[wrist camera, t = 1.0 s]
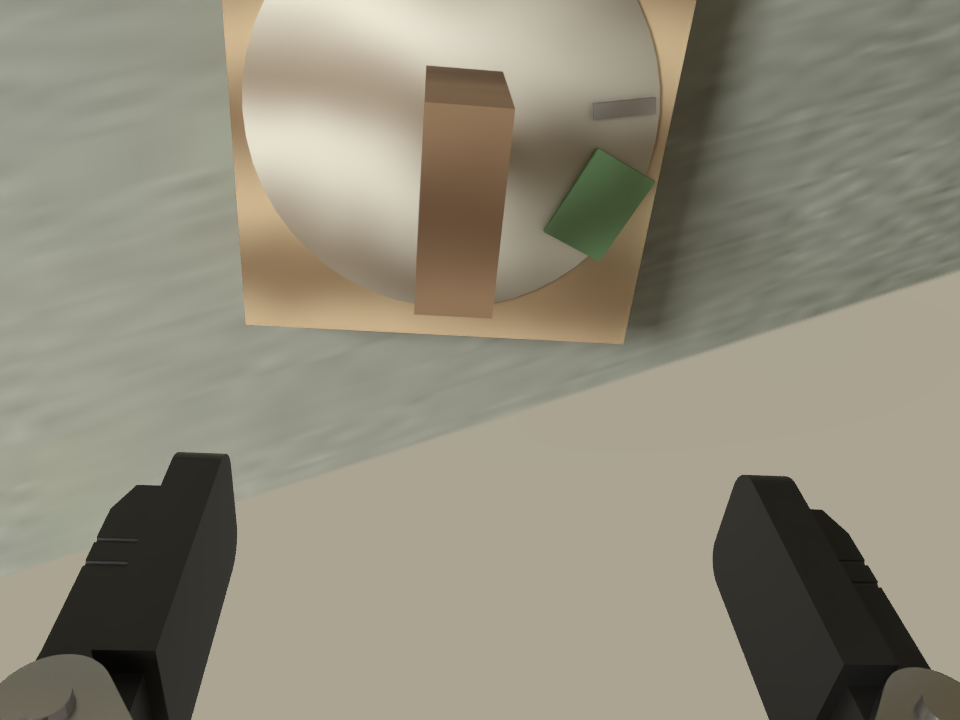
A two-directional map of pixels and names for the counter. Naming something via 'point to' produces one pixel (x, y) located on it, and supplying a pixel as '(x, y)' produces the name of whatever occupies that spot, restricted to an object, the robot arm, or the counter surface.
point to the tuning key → (462, 190)
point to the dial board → (398, 150)
